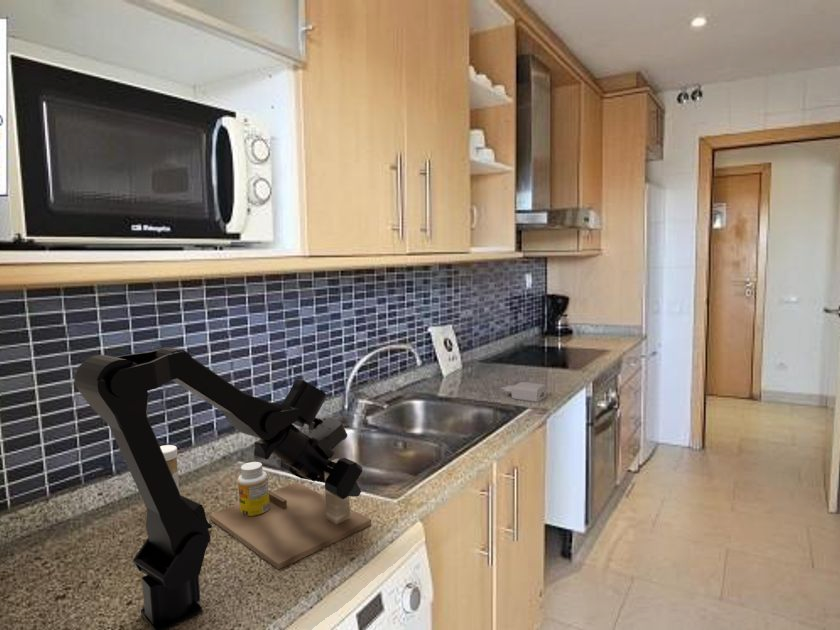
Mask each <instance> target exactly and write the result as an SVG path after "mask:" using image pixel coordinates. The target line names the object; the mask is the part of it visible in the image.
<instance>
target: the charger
mask: <svg viewBox="0 0 840 630" xmlns="http://www.w3.org/2000/svg"><path fill="white" fill-rule="evenodd" d="M547 386H548V385H547V384H543V383H535V382H534V383H533V382H527V381H526V382H525V381H521V382H519V383H516V384H515V385H509V384H508V385H506V386H503V387H501V388H500V390H503V392H504V393H506V394H511V398H512V399H513V400H517V401H518V400H519V401H525V402H526V401H527V402H533V403H539V402H541V401H542V400H544V399H545V398H546V397H547Z"/></svg>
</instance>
